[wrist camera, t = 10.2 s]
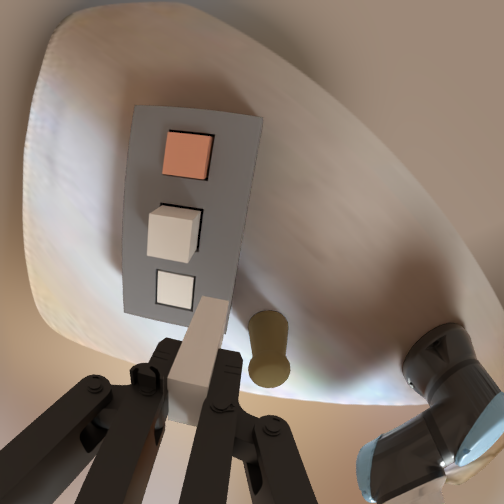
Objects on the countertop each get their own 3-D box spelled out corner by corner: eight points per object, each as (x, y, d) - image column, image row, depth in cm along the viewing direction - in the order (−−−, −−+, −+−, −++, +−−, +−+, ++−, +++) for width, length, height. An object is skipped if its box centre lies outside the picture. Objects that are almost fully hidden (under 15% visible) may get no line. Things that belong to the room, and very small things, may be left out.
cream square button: (200, 264, 37) (193, 277, 33) (196, 293, 39) (190, 309, 35) (167, 258, 37) (158, 270, 33) (166, 287, 39) (157, 302, 35)
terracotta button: (216, 137, 30) (209, 136, 27) (210, 175, 32) (203, 179, 28) (178, 133, 30) (167, 131, 26) (173, 170, 32) (162, 173, 28)
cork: (278, 347, 44) (282, 398, 34) (242, 336, 43) (237, 387, 33) (294, 317, 42) (303, 368, 31) (256, 305, 41) (254, 355, 31)
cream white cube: (200, 211, 31) (192, 220, 27) (196, 249, 32) (188, 263, 28) (162, 205, 30) (149, 213, 27) (159, 242, 32) (146, 255, 28)
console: (262, 122, 33) (263, 117, 27) (230, 309, 42) (225, 334, 36) (153, 110, 32) (134, 105, 26) (139, 291, 41) (123, 312, 36)
